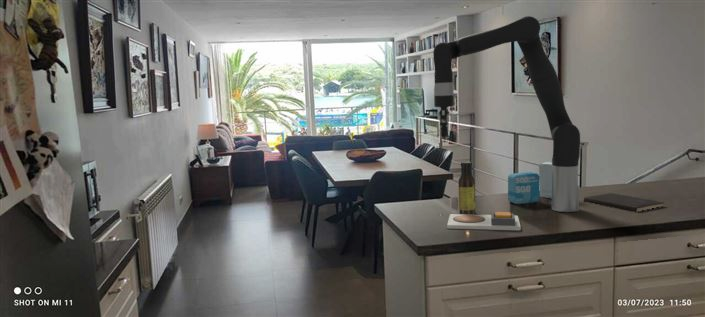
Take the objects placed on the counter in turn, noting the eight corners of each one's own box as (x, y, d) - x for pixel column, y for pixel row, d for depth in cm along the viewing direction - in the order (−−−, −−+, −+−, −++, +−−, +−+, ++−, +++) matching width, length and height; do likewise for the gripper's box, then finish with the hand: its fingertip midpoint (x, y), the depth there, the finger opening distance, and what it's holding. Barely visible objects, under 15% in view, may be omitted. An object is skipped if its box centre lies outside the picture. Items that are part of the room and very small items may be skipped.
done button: (510, 217, 178) (510, 212, 178) (510, 221, 174) (510, 215, 173) (495, 217, 180) (495, 211, 179) (495, 220, 175) (495, 215, 175)
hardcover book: (610, 198, 216) (610, 192, 216) (664, 208, 196) (664, 202, 196) (583, 203, 210) (583, 197, 209) (636, 213, 189) (636, 207, 189)
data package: (514, 204, 209) (514, 175, 208) (507, 202, 213) (507, 173, 212) (539, 201, 212) (539, 173, 211) (532, 199, 217) (532, 171, 215)
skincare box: (564, 197, 219) (564, 162, 217) (555, 199, 215) (555, 164, 213) (547, 194, 226) (547, 161, 224) (538, 196, 222) (538, 162, 220)
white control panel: (517, 218, 186) (517, 209, 186) (520, 230, 171) (520, 219, 170) (450, 217, 192) (450, 207, 192) (447, 228, 177) (447, 218, 176)
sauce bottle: (478, 215, 194) (478, 162, 191) (463, 216, 192) (462, 163, 190) (471, 211, 200) (470, 160, 198) (456, 212, 199) (455, 161, 196)
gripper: (453, 94, 194) (453, 137, 196) (454, 94, 208) (454, 134, 210) (433, 95, 196) (433, 137, 198) (435, 94, 210) (436, 134, 212)
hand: (444, 135), depth 204 cm, fingers open, 8 cm apart
